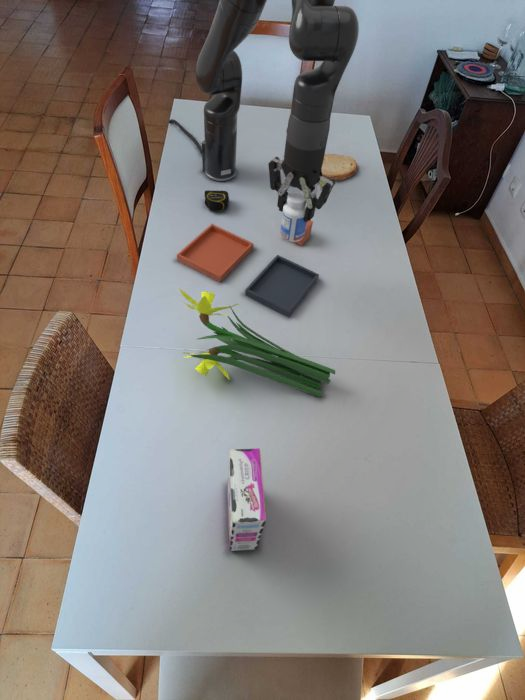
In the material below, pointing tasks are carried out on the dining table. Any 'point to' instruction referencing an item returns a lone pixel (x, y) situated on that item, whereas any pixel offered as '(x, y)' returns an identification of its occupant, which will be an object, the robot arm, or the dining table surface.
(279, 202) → the robot arm
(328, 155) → the slice of bread
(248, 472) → the candy bar box
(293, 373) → the daffodil flowers
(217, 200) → the tape measure
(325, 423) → the dining table surface
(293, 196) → the pill bottle
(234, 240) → the terracotta tray
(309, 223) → the terracotta block
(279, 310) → the slate tray
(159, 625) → the dining table surface
